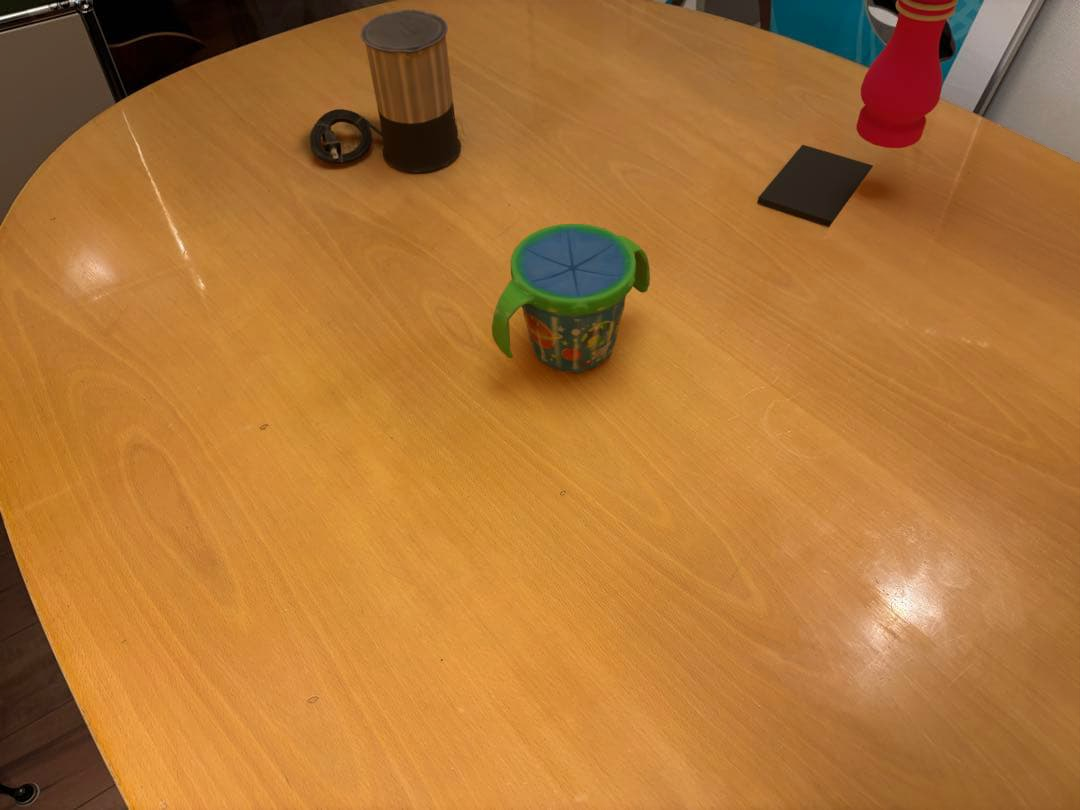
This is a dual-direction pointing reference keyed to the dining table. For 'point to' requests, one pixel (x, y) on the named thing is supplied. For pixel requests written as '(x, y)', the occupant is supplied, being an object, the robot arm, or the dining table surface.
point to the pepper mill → (905, 76)
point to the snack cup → (570, 293)
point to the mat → (814, 185)
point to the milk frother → (402, 96)
